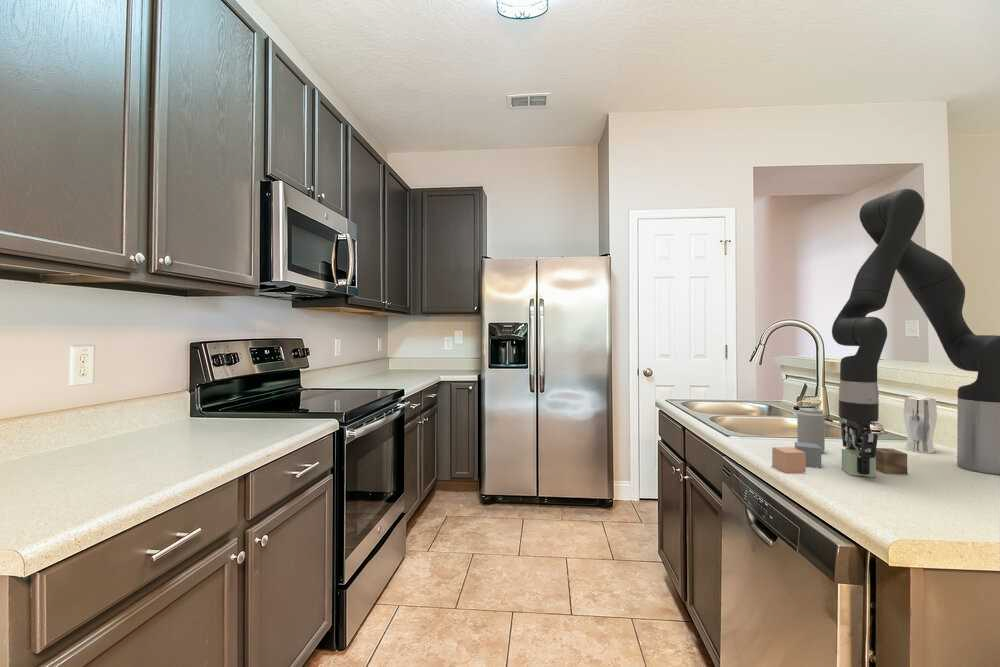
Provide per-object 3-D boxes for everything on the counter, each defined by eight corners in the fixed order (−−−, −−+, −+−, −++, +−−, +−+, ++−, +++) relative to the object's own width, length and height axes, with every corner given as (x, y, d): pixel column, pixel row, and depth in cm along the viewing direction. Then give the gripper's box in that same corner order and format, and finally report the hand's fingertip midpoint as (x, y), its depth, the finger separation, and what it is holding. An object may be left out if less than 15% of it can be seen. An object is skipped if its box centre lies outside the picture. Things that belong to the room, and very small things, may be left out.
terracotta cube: (791, 466, 114) (791, 447, 114) (805, 473, 109) (805, 452, 109) (772, 467, 114) (772, 447, 113) (785, 473, 109) (785, 452, 108)
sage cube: (866, 471, 110) (866, 450, 110) (875, 477, 105) (875, 455, 105) (841, 469, 111) (841, 448, 111) (850, 475, 107) (850, 454, 107)
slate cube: (817, 463, 117) (817, 444, 117) (821, 468, 112) (821, 448, 112) (794, 460, 119) (794, 441, 119) (797, 465, 115) (797, 446, 115)
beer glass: (943, 453, 126) (944, 400, 126) (918, 453, 126) (918, 400, 126) (920, 447, 133) (921, 396, 133) (897, 447, 133) (897, 396, 133)
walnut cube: (892, 468, 112) (892, 448, 112) (907, 474, 107) (907, 453, 107) (870, 467, 113) (870, 447, 113) (884, 473, 108) (884, 453, 108)
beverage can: (829, 454, 125) (829, 411, 125) (803, 453, 126) (803, 410, 126) (817, 448, 131) (817, 407, 131) (793, 447, 132) (793, 406, 132)
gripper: (892, 405, 100) (892, 481, 100) (863, 396, 114) (863, 463, 114) (852, 403, 102) (851, 478, 103) (828, 395, 116) (828, 460, 116)
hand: (858, 470), depth 108 cm, fingers closed on sage cube, 5 cm apart
